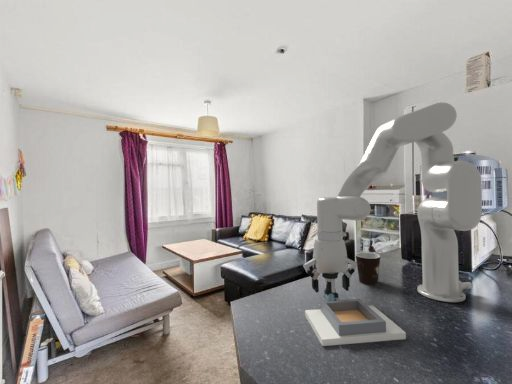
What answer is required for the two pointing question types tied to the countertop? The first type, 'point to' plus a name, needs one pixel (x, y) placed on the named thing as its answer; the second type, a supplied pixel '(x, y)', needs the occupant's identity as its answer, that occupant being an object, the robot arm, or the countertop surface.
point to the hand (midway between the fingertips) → (330, 289)
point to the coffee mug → (368, 267)
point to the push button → (330, 286)
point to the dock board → (351, 323)
